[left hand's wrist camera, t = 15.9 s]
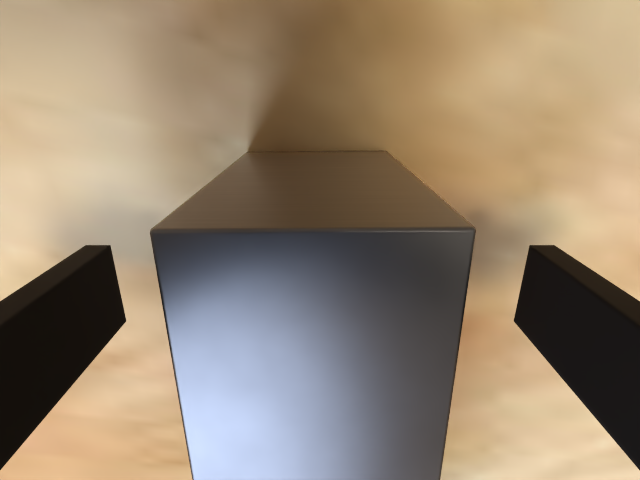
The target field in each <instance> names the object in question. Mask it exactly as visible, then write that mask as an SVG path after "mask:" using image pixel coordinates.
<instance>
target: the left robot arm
mask: <svg viewBox="0 0 640 480" xmlns="http://www.w3.org/2000/svg"><path fill="white" fill-rule="evenodd" d="M125 322H126V318H125V313H124V308H123V304H122V299H121V294H120V289H119V284H118V280H117V275H116V270H115V265H114V261H113V256H112V251H111V246H110V245H86V246H84V247H82V248H81V249H79V250H78V251H76V252H75V253H73V254H72V255H70V256H69V257H67V258H66V259H64V260H63V261H61V262H60V263H58V264H57V265H55V266H54V267H52V268H51V269H49V270H47V271H46V272H44V273H43V274H41V275H40V276H38V277H37V278H35V279H34V280H32V281H31V282H29V283H28V284H26V285H25V286H23V287H22V288H20V289H19V290H17V291H15V292H14V293H12V294H11V295H9V296H8V297H6V298H5V299H3V300H2V301H0V470H1V469H2V467H3V466H4V465H5V464H6V463H7V462H8V460H9V459H10V458H11V457H12V456H13V454H14V453H15V452H16V451H17V450H18V449H19V447H20V446H21V445H22V444H23V443H24V441H25V440H26V439H27V438H28V437H29V436H30V434H31V433H32V432H33V431H34V430H35V428H36V427H37V426H38V425H39V424H40V423H41V421H42V420H43V419H44V418H45V417H46V415H47V414H48V413H49V412H50V411H51V409H52V408H53V407H54V406H55V405H56V404H57V402H58V401H59V400H60V399H61V398H62V396H63V395H64V394H65V393H66V392H67V391H68V389H69V388H70V387H71V386H72V385H73V383H74V382H75V381H76V380H77V379H78V378H79V376H80V375H81V374H82V373H83V372H84V370H85V369H86V368H87V367H88V366H89V365H90V363H91V362H92V361H93V360H94V359H95V357H96V356H97V355H98V354H99V353H100V351H101V350H102V349H103V348H104V347H105V346H106V344H107V343H108V342H109V341H110V340H111V338H112V337H113V336H114V335H115V334H116V333H117V331H118V330H119V329H120V328H121V327H122V325H123V324H124V323H125ZM514 322H515V323H516V324H517V325H518V327H519V328H520V329H521V330H522V331H523V333H524V334H525V335H526V336H527V337H528V338H529V340H530V341H531V342H532V343H533V344H534V346H535V347H536V348H537V349H538V350H539V351H540V353H541V354H542V355H543V356H544V357H545V359H546V360H547V361H548V362H549V363H550V365H551V366H552V367H553V368H554V369H555V370H556V372H557V373H558V374H559V375H560V376H561V378H562V379H563V380H564V381H565V382H566V383H567V385H568V386H569V387H570V388H571V389H572V391H573V392H574V393H575V394H576V395H577V396H578V398H579V399H580V400H581V401H582V402H583V404H584V405H585V406H586V407H587V408H588V409H589V411H590V412H591V413H592V414H593V415H594V417H595V418H596V419H597V420H598V421H599V423H600V424H601V425H602V426H603V427H604V428H605V430H606V431H607V432H608V433H609V434H610V436H611V437H612V438H613V439H614V440H615V441H616V443H617V444H618V445H619V446H620V447H621V449H622V450H623V451H624V452H625V453H626V454H627V456H628V457H629V458H630V459H631V460H632V462H633V463H634V464H635V465H636V466H637V467H638V469H639V470H640V301H638V300H637V299H635V298H634V297H632V296H631V295H629V294H628V293H626V292H625V291H623V290H621V289H620V288H618V287H617V286H615V285H614V284H612V283H611V282H609V281H608V280H606V279H605V278H603V277H602V276H600V275H599V274H597V273H596V272H594V271H593V270H591V269H590V268H588V267H586V266H585V265H583V264H582V263H580V262H579V261H577V260H576V259H574V258H573V257H571V256H570V255H568V254H567V253H565V252H564V251H562V250H561V249H559V248H558V247H556V246H554V245H530V246H529V251H528V256H527V261H526V265H525V270H524V275H523V280H522V284H521V289H520V294H519V299H518V304H517V308H516V313H515V318H514Z"/></svg>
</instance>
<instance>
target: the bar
mask: <svg viewBox="0 0 640 480" xmlns="http://www.w3.org/2000/svg"><path fill="white" fill-rule="evenodd" d="M475 232H476V230H475V227H474V226H473V225H472V224H470V223H469V222H468V221H467V220H466V219H465V218H463V217H462V216H461V215H460V214H459V213H458V212H456V211H455V210H454V209H453V208H452V207H451V206H450V205H448V204H447V203H446V202H445V201H444V200H443V199H441V198H440V197H439V196H438V195H437V194H436V193H434V192H433V191H432V190H431V189H430V188H429V187H427V186H426V185H425V184H424V183H423V182H422V181H421V180H419V179H418V178H417V177H416V176H415V175H414V174H412V173H411V172H410V171H409V170H408V169H407V168H405V167H404V166H403V165H402V164H401V163H400V162H399V161H397V160H396V159H395V158H394V157H393V156H392V155H390V154H389V153H388V152H387V151H337V152H247V153H245V154H244V155H243V156H242V157H240V158H239V159H238V160H237V161H236V162H234V163H233V164H232V165H231V166H229V167H228V168H227V169H226V170H224V171H223V172H222V173H221V174H219V175H218V176H217V177H216V178H214V179H213V180H212V181H211V182H209V183H208V184H207V185H206V186H204V187H203V188H202V189H201V190H199V191H198V192H197V193H196V194H194V195H193V196H192V197H191V198H189V199H188V200H187V201H186V202H185V203H183V204H182V205H181V206H180V207H178V208H177V209H176V210H175V211H173V212H172V213H171V214H170V215H168V216H167V217H166V218H165V219H163V220H162V221H161V222H160V223H158V224H157V225H156V226H155V227H153V228H152V229H151V231H150V235H151V241H152V247H153V253H154V259H155V264H156V270H157V276H158V282H159V288H160V293H161V299H162V305H163V311H164V317H165V322H166V328H167V334H168V340H169V346H170V351H171V357H172V363H173V369H174V375H175V380H176V386H177V392H178V398H179V403H180V409H181V415H182V421H183V427H184V432H185V438H186V444H187V450H188V456H189V461H190V467H191V473H192V479H193V480H440V476H441V469H442V462H443V455H444V448H445V441H446V434H447V427H448V420H449V413H450V406H451V399H452V392H453V385H454V378H455V371H456V364H457V357H458V350H459V343H460V336H461V329H462V322H463V316H464V309H465V302H466V295H467V288H468V281H469V274H470V267H471V260H472V253H473V246H474V239H475Z"/></svg>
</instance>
